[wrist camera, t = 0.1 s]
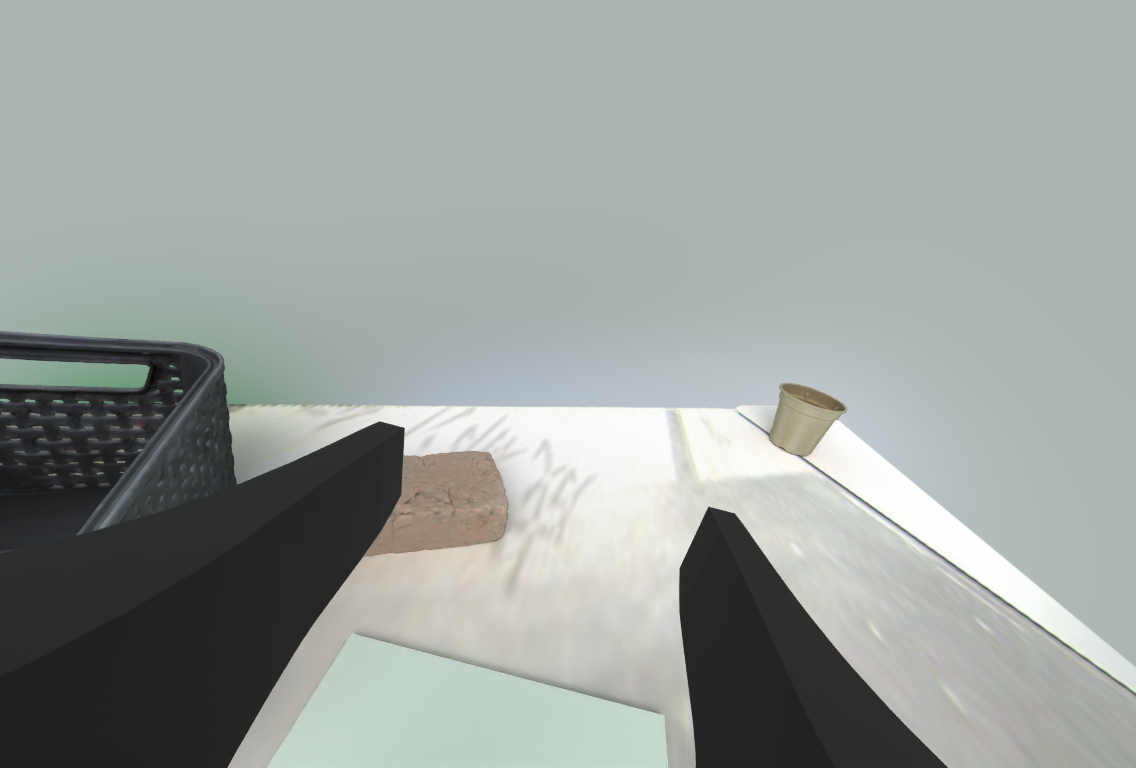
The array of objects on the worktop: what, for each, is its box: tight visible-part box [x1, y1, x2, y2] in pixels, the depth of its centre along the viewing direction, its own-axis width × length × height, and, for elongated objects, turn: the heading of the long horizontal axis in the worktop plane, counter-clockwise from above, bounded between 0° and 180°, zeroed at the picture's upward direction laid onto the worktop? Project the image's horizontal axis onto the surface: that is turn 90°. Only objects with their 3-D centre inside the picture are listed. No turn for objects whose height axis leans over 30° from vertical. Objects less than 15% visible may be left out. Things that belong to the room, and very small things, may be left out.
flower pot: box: [769, 383, 847, 456], centre depth 68 cm, size 9×9×9 cm
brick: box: [364, 451, 508, 556], centre depth 38 cm, size 17×8×5 cm, turn 110°
